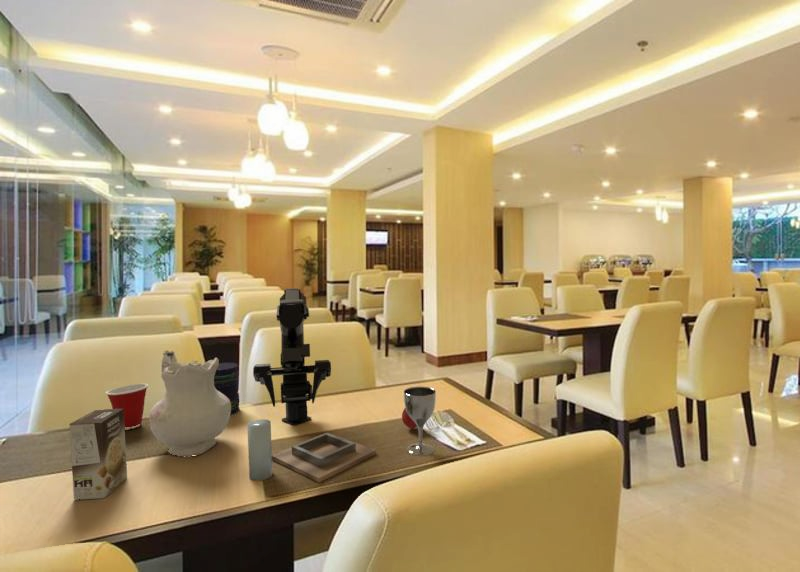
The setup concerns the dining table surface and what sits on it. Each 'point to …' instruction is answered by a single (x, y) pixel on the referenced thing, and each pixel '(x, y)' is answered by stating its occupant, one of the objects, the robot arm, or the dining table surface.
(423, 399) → the wine glass
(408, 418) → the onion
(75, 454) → the coffee box
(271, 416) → the dining table surface
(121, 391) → the plastic cup
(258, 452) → the ceramic canister
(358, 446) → the collar board
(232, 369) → the storage jar
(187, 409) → the ceramic pitcher
